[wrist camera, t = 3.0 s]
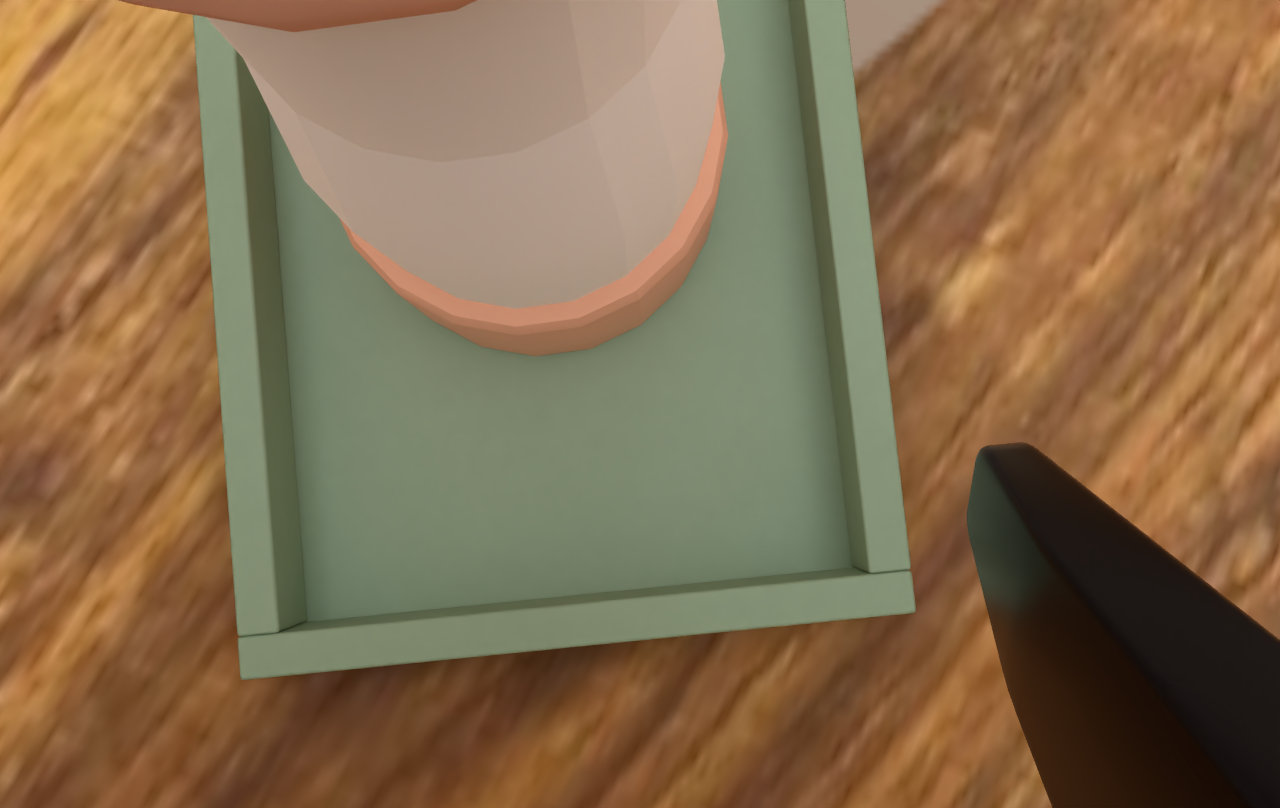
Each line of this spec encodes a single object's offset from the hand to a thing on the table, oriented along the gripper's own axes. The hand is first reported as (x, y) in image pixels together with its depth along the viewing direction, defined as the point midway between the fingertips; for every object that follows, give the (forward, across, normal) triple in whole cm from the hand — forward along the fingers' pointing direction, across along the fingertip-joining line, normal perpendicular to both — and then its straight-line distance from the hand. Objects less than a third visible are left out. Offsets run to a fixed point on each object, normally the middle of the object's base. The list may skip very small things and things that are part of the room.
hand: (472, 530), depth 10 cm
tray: (+13, 0, +6) cm, 14 cm away
